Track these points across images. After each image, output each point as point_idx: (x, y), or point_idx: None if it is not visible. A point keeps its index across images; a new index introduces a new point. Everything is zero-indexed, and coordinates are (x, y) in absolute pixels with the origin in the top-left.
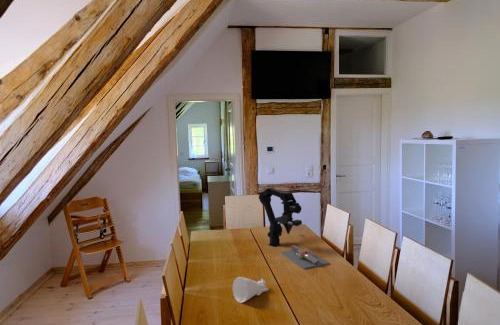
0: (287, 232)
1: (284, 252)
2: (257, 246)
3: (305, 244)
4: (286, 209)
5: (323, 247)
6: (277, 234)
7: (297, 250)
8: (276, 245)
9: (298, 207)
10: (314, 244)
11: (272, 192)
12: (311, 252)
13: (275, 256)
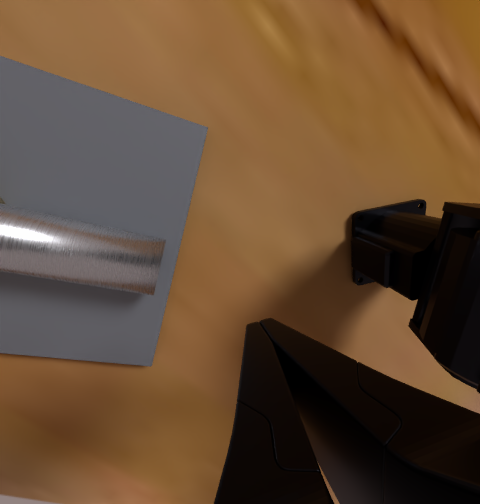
0: (270, 329)
1: (176, 147)
2: (473, 98)
3: (224, 420)
4: None
5: (92, 483)
6: (439, 273)
7: (13, 218)
8: (358, 232)
9: None
10: (181, 465)
11: None
12: (12, 351)
13: (183, 10)
